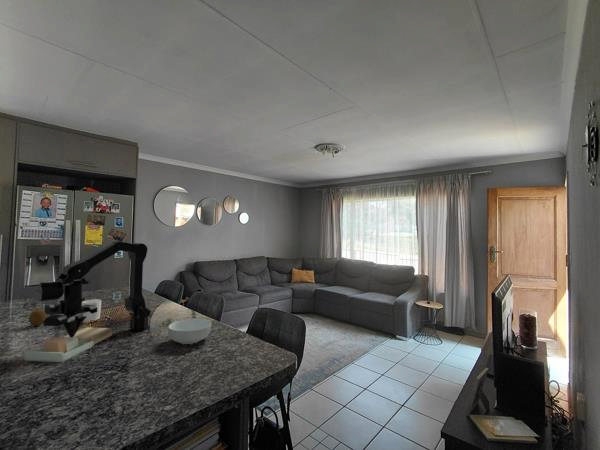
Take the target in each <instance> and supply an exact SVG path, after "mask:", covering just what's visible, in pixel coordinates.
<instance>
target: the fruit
mask: <svg viewBox="0 0 600 450" xmlns="http://www.w3.org/2000/svg"><path fill="white" fill-rule="evenodd" d="M46 317H48V314H45V309H40V308H37V309H35V310H33V311H31V312H30V314H29V317H28V321H29V323H30V325H31V326H35V327H39V326H41V325H44V319H45V318H46Z"/></svg>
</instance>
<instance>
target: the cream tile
mask: <svg viewBox="0 0 600 450" xmlns="http://www.w3.org/2000/svg"><path fill="white" fill-rule="evenodd" d="M63 337H64V336H63ZM64 338H65V342H66V351H65V352H68V351H69V350H71V349H73V348H74V347H76V346H77V345H78V337H64Z"/></svg>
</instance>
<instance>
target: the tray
mask: <svg viewBox="0 0 600 450" xmlns="http://www.w3.org/2000/svg"><path fill="white" fill-rule="evenodd" d="M94 345H95V344H94V341H90V342H78V345H77V346H76V347H74V348H73V349H71V350H69V351H68V352H64V353H62V352H46V351H45V345H44V346H42V347H39V348H37V349H35V350H26V351H23V352H24V353H23V356H24V357H23V360H24V361H27V362H28V361H29V362H46V363H47V362H48V363H49V362H50V363H53V362H54V363H63V362H64V363H65V362H66V361H68V360H70V359H71V358H73V357H75V356H77V355H79V354H81V353H83V352H84V351H87V350H88V349H91V348H93V347H94Z"/></svg>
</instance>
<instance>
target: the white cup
mask: <svg viewBox="0 0 600 450" xmlns="http://www.w3.org/2000/svg"><path fill="white" fill-rule="evenodd" d="M102 302H103V301H102V300H101V299H99V298H98V299H87V300H85V301H82V306H84V305H96V306H97V312H96V313H93V314H91V313H90V312H86V313H83V316H86V318H85V319H84V321H83V322H82V324H85V323H84V322H86V321H89V320H97V319H99V318H101V312H102V311H101V310H102Z"/></svg>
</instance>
